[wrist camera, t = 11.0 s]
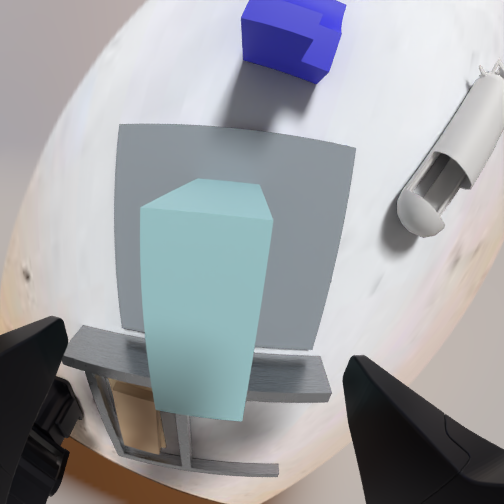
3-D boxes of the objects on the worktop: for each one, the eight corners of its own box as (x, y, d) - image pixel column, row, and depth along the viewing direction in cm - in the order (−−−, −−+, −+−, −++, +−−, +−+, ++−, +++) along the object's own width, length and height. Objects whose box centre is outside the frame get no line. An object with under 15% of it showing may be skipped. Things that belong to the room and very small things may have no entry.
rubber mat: (124, 324, 19) (122, 327, 19) (122, 124, 15) (119, 124, 14) (311, 345, 20) (312, 349, 20) (353, 148, 15) (356, 147, 15)
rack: (121, 446, 26) (113, 470, 22) (82, 325, 19) (59, 354, 16) (276, 467, 27) (278, 493, 23) (320, 356, 20) (331, 392, 17)
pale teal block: (190, 303, 18) (155, 409, 10) (197, 178, 16) (140, 207, 7) (244, 309, 18) (242, 421, 10) (259, 184, 16) (273, 220, 7)
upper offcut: (127, 437, 24) (124, 444, 23) (116, 381, 21) (112, 389, 20) (161, 446, 25) (159, 454, 23) (158, 393, 21) (155, 402, 20)
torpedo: (414, 243, 18) (470, 281, 12) (373, 200, 17) (430, 226, 11) (507, 90, 13) (559, 87, 7) (478, 47, 12) (529, 34, 6)
